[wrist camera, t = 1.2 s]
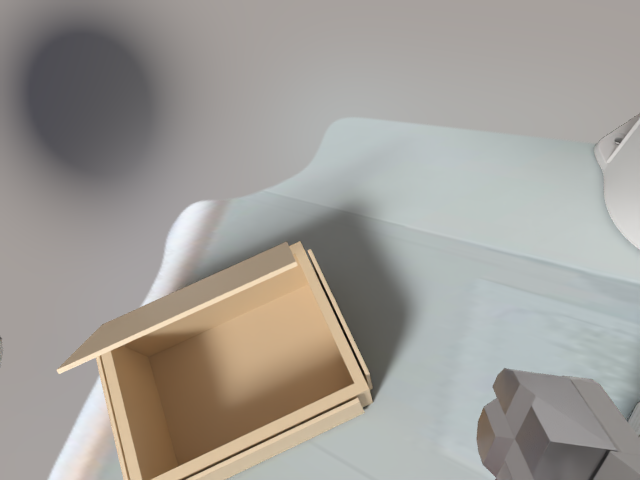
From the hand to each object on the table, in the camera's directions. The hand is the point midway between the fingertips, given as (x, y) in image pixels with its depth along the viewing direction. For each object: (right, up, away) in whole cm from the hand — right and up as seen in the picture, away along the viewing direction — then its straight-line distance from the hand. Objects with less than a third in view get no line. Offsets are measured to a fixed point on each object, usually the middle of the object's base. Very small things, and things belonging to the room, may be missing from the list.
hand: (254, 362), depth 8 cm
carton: (-5, -10, +38) cm, 39 cm away
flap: (-9, -1, +33) cm, 34 cm away
